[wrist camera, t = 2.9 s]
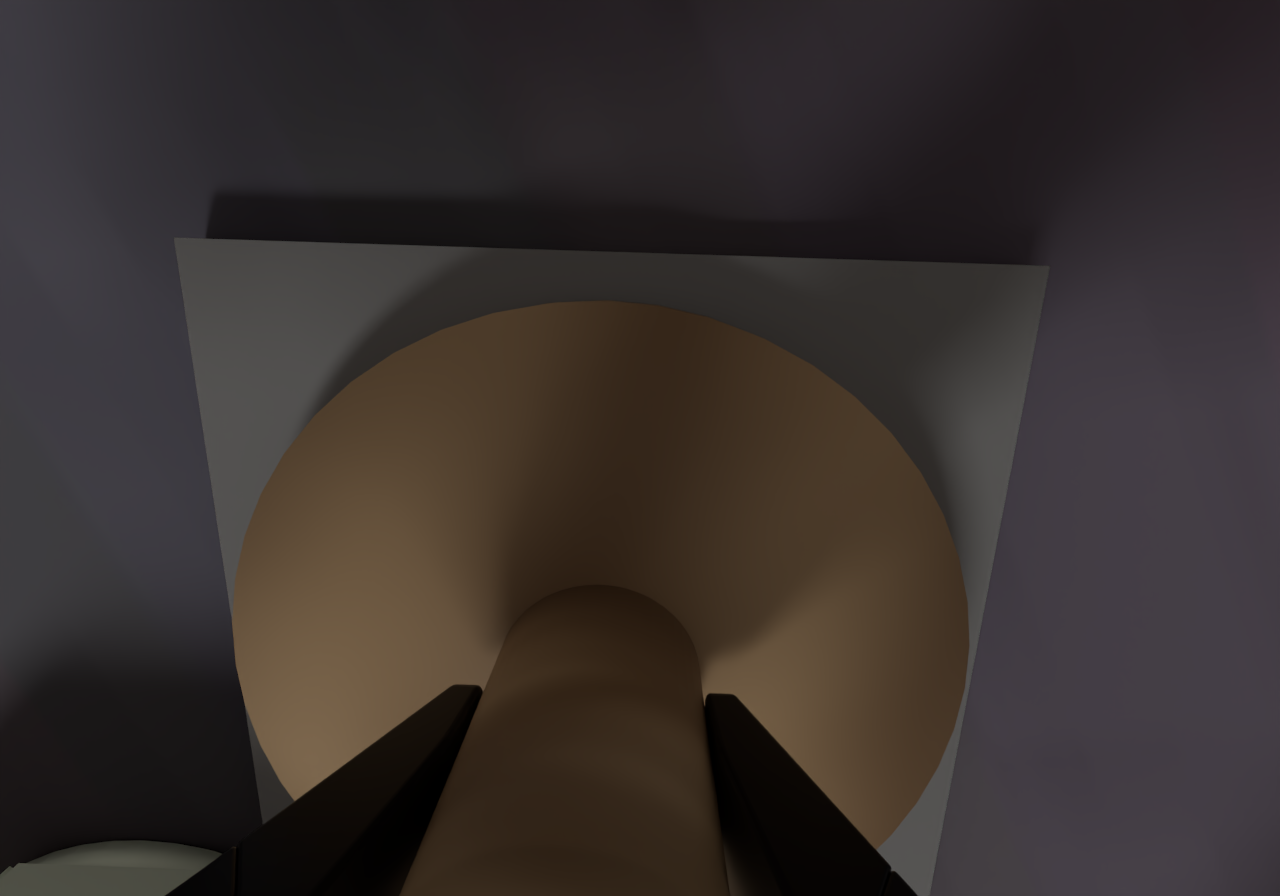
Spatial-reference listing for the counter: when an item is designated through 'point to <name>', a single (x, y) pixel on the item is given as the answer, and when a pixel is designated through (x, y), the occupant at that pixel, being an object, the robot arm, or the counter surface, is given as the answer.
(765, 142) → the counter surface
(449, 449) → the lid
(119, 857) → the bowl
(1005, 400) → the mat
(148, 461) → the counter surface
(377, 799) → the robot arm
